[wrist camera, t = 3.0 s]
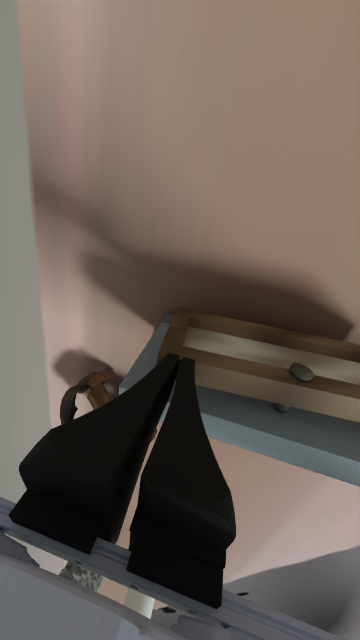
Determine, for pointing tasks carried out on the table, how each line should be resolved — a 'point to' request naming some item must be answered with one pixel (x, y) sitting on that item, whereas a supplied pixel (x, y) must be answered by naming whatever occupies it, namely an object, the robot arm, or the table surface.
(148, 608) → the bottle
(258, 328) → the brown rectangular panel
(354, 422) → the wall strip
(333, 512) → the table surface
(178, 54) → the table surface
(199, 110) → the table surface
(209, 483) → the robot arm
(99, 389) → the pottery mug
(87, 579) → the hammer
